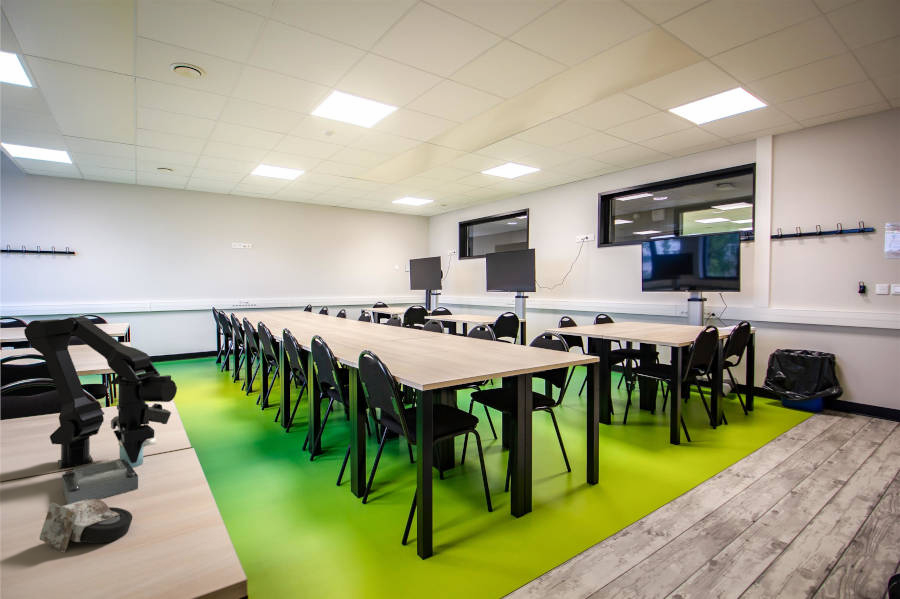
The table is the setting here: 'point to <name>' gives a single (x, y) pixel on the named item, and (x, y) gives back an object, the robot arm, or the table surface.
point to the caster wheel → (84, 523)
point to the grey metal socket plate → (99, 481)
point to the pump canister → (140, 458)
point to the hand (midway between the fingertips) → (131, 459)
